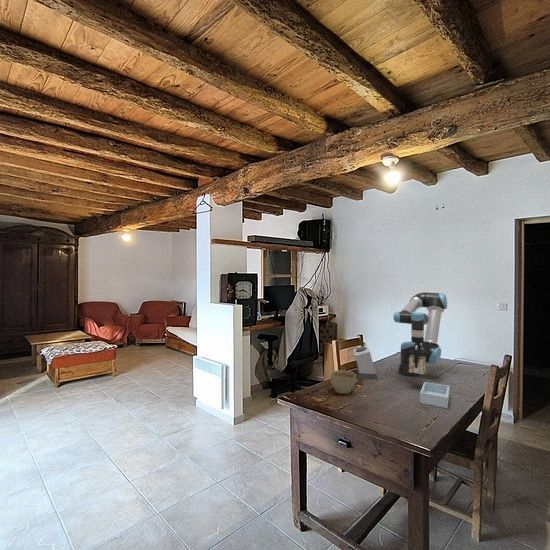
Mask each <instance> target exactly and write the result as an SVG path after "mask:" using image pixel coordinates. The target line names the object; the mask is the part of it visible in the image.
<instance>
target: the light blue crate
mask: <svg viewBox="0 0 550 550" xmlns="http://www.w3.org/2000/svg"><path fill="white" fill-rule="evenodd" d="M449 399H450V385H447V384H440V383H433V382H426V381H424V382H423V384H422V388H421V389H420V393H419V404H423V405H428V406H433V407H438V408H443V409H444V408H445V409H448V407H449Z"/></svg>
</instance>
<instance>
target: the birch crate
mask: <svg viewBox="0 0 550 550" xmlns="http://www.w3.org/2000/svg"><path fill="white" fill-rule="evenodd" d="M413 361H414V356H413V355H411V356H410V358H409V372H411V373H415V372H414V362H413ZM416 361H417V360H416ZM418 363H419V373H418V374H420V375H425V373H426V363H427V362H426V357H421V356H419V360H418Z"/></svg>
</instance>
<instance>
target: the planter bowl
mask: <svg viewBox="0 0 550 550" xmlns="http://www.w3.org/2000/svg"><path fill="white" fill-rule="evenodd" d="M329 378H330V382H331V383H330V384H332V386H333V388H334V390H335V392H336V393H338V394H344V395H345V394H346V395H347V394H350V393H351V392H352V390H353V388H354V386H355V384H356V378H357V373H355V372H353V371H348V370H333V371H331V372H330V373H329Z"/></svg>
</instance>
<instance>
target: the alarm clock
mask: <svg viewBox="0 0 550 550" xmlns="http://www.w3.org/2000/svg"><path fill="white" fill-rule="evenodd" d="M353 354H354V357H355V360H356V364H357V366H356V377H357V378H358V379H362V380H374V381H377V380H379V379H378V374H377V371H376V369H375V365H374V362H373V358H372V355H371V351H370V349H369V346H368V345H363V346H360V347H357V348H354V349H353Z"/></svg>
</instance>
